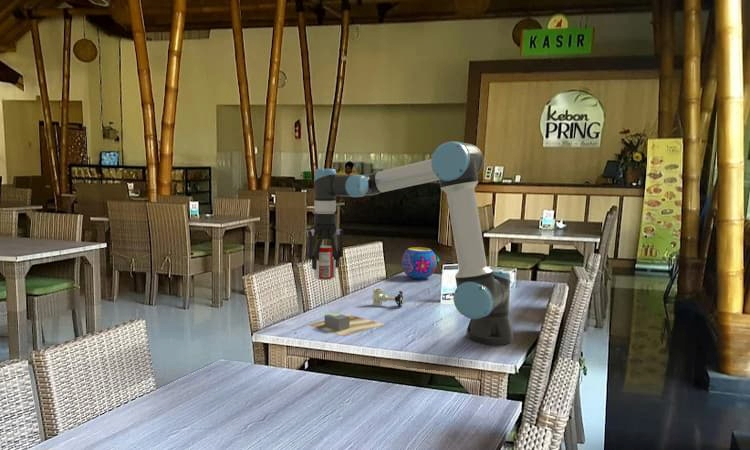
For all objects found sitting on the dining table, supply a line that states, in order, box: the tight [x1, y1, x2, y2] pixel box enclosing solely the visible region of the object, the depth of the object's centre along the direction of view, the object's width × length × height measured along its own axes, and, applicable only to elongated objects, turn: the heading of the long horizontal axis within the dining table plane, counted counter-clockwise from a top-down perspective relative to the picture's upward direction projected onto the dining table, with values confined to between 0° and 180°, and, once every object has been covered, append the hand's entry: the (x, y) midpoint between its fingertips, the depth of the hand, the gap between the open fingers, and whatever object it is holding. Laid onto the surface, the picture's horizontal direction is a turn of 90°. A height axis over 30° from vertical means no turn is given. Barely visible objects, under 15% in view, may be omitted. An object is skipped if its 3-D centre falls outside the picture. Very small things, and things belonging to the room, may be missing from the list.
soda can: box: [317, 244, 334, 281], centre depth 202 cm, size 6×6×12 cm
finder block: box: [324, 312, 350, 331], centre depth 193 cm, size 7×5×4 cm
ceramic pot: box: [401, 247, 440, 280], centre depth 287 cm, size 18×18×15 cm
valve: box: [371, 288, 404, 308], centre depth 229 cm, size 7×7×12 cm
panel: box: [307, 314, 386, 337], centre depth 197 cm, size 18×20×1 cm
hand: (324, 277), depth 203 cm, fingers closed on soda can, 6 cm apart
